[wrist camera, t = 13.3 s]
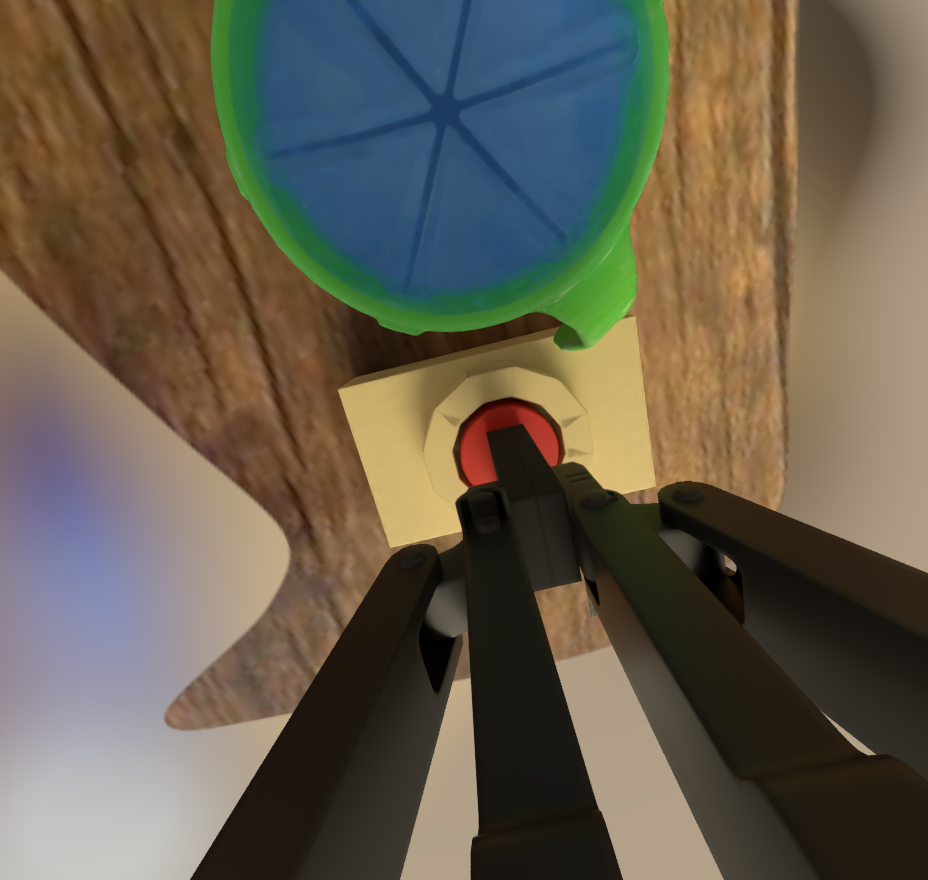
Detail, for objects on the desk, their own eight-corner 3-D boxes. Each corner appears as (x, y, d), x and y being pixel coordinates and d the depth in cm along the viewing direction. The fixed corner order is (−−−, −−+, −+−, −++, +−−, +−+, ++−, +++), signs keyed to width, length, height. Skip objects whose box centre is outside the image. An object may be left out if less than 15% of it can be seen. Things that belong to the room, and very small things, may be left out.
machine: (397, 517, 24) (384, 569, 19) (353, 377, 22) (325, 397, 17) (629, 463, 23) (675, 503, 19) (609, 313, 21) (655, 315, 16)
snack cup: (638, 265, 21) (807, 226, 11) (466, 405, 22) (478, 479, 13) (422, -70, 17) (381, -591, 7) (235, 129, 19) (-5, -70, 9)
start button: (471, 492, 20) (473, 509, 18) (449, 410, 19) (450, 420, 17) (557, 472, 20) (566, 488, 18) (540, 387, 19) (549, 395, 17)
